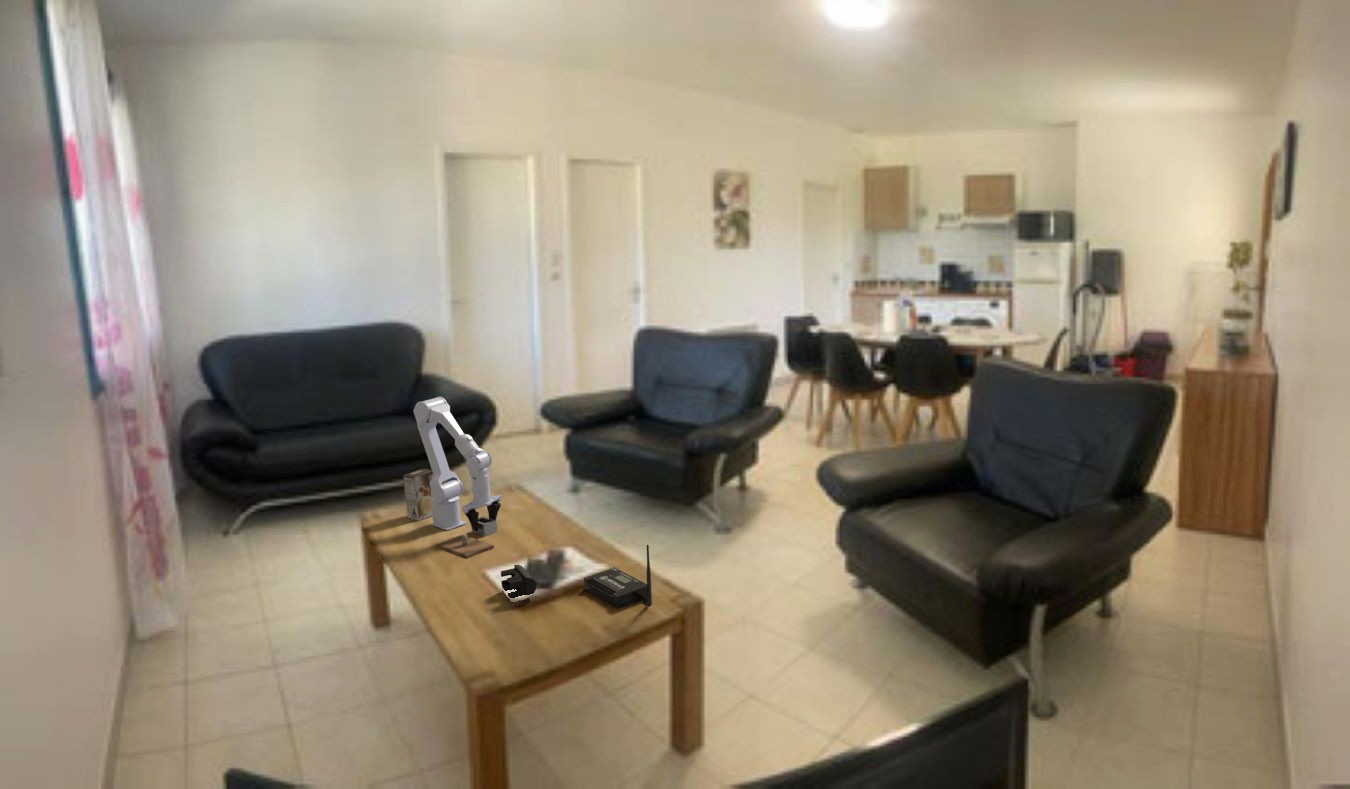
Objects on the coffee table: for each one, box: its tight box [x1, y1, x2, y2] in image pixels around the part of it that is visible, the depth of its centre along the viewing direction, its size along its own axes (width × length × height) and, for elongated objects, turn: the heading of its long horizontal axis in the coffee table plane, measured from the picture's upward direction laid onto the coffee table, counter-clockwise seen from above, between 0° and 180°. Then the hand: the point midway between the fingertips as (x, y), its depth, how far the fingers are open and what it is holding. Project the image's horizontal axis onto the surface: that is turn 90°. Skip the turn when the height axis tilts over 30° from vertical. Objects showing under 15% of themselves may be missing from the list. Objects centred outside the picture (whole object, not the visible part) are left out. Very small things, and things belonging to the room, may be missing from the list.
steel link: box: [470, 515, 498, 537], centre depth 266 cm, size 7×5×4 cm
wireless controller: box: [583, 544, 653, 610], centre depth 215 cm, size 20×14×17 cm
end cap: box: [500, 564, 537, 598], centre depth 218 cm, size 10×7×7 cm
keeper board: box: [436, 533, 495, 559], centre depth 253 cm, size 16×10×4 cm, turn 50°
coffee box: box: [402, 468, 434, 522], centre depth 282 cm, size 9×6×16 cm
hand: (484, 527), depth 266 cm, fingers open, 6 cm apart
